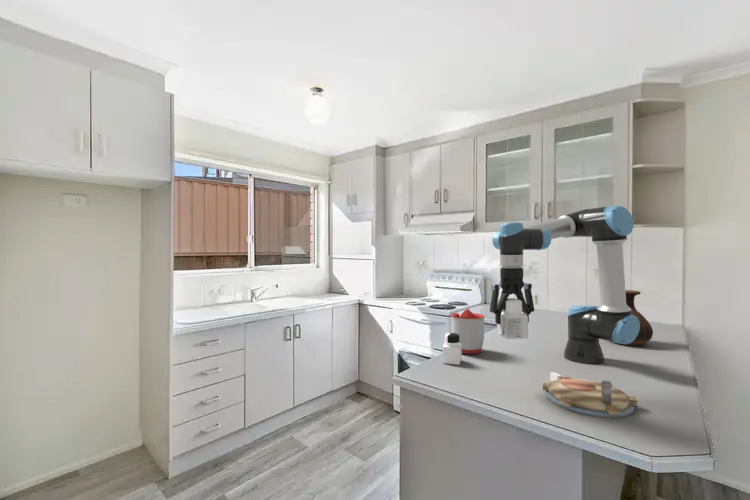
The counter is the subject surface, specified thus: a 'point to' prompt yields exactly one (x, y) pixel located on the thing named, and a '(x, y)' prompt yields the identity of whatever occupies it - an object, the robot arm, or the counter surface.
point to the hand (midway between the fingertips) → (512, 332)
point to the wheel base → (581, 410)
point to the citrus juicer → (469, 331)
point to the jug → (645, 327)
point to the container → (514, 320)
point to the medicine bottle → (452, 349)
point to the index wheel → (589, 395)
